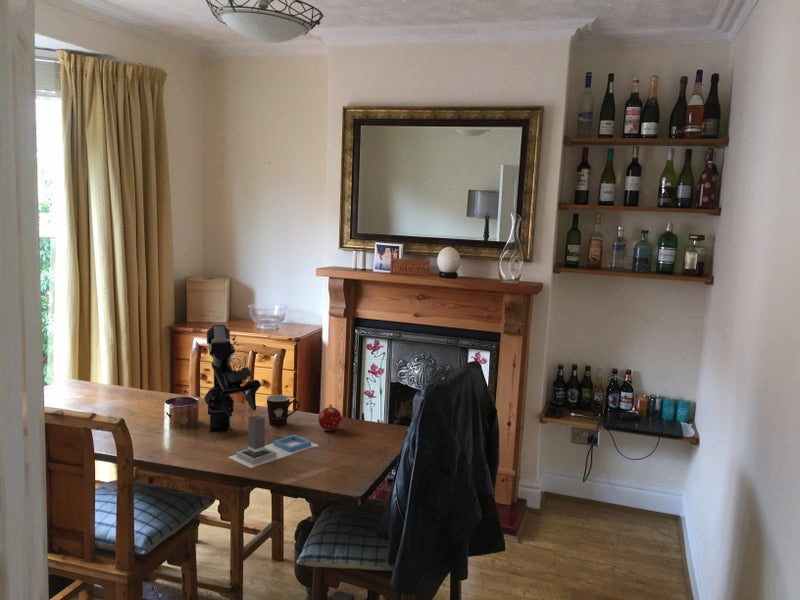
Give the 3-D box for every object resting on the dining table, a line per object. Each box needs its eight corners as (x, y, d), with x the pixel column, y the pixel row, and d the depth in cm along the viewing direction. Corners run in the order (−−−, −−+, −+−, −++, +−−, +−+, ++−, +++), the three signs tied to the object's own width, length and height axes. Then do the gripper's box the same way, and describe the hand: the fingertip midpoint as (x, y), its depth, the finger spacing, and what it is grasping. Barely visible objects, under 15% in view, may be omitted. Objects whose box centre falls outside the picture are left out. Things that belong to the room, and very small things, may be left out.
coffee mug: (262, 426, 233) (262, 400, 232) (271, 419, 242) (271, 394, 240) (292, 429, 231) (292, 403, 230) (300, 422, 240) (300, 396, 238)
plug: (245, 456, 201) (245, 417, 199) (258, 452, 205) (258, 414, 203) (254, 461, 198) (254, 421, 196) (267, 457, 201) (267, 418, 200)
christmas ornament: (313, 430, 230) (314, 404, 229) (327, 424, 238) (328, 399, 237) (332, 435, 226) (332, 409, 225) (346, 429, 233) (346, 403, 232)
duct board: (250, 470, 192) (250, 463, 192) (227, 460, 200) (227, 452, 200) (318, 448, 214) (318, 440, 213) (295, 439, 221) (295, 432, 221)
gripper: (209, 364, 199) (228, 406, 194) (258, 356, 213) (277, 394, 208) (196, 383, 206) (214, 424, 200) (244, 374, 220) (263, 412, 214)
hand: (243, 413), depth 205 cm, fingers open, 9 cm apart
